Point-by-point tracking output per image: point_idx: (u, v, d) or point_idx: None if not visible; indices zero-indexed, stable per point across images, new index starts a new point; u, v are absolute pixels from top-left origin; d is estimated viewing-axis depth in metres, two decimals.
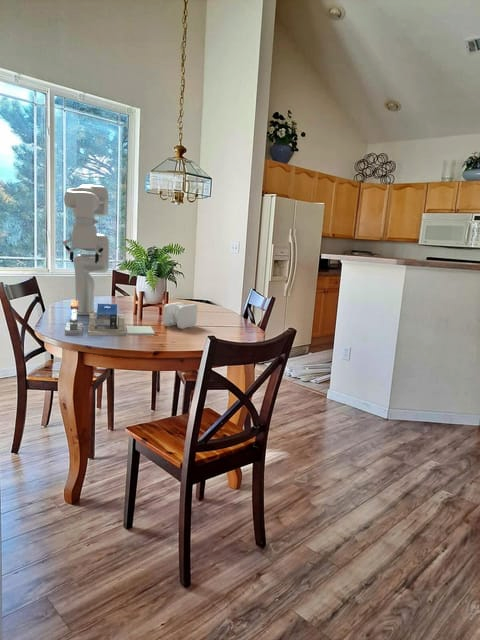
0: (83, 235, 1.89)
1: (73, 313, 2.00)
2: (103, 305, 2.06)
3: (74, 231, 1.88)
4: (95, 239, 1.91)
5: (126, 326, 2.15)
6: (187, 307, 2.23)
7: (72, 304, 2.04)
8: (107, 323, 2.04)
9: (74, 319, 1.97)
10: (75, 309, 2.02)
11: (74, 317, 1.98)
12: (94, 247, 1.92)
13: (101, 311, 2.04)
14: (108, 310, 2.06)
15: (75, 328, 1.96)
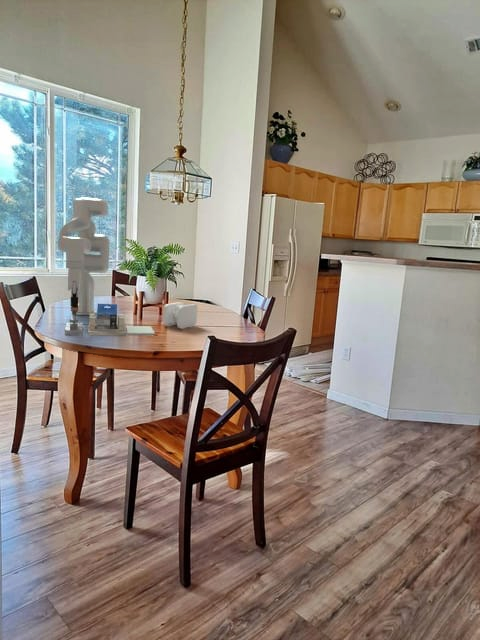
0: (80, 278, 2.03)
1: (73, 314, 2.00)
2: (103, 305, 2.06)
3: (79, 275, 2.00)
4: None
5: (126, 326, 2.15)
6: (187, 307, 2.23)
7: (72, 306, 2.05)
8: (107, 323, 2.04)
9: (74, 319, 1.97)
10: (75, 310, 2.03)
11: (74, 317, 1.98)
12: None
13: (101, 311, 2.04)
14: (108, 310, 2.06)
15: (75, 328, 1.96)
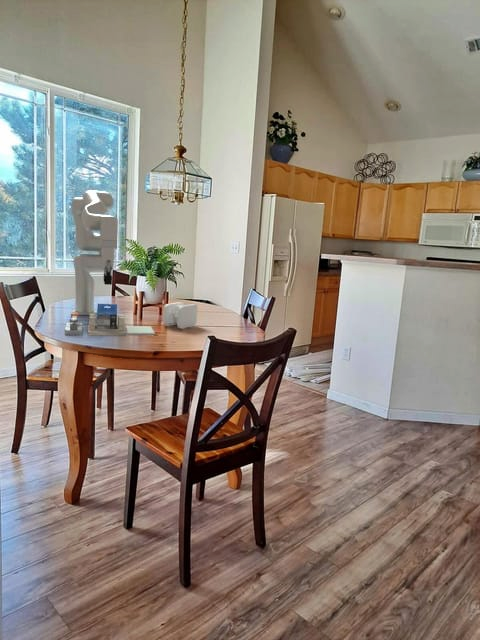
0: None
1: (73, 317, 2.01)
2: (103, 305, 2.06)
3: (113, 254, 1.97)
4: None
5: (126, 326, 2.15)
6: (187, 307, 2.23)
7: (72, 313, 2.06)
8: (107, 323, 2.04)
9: (74, 319, 1.97)
10: (75, 316, 2.04)
11: (74, 318, 1.98)
12: None
13: (101, 311, 2.04)
14: (108, 310, 2.06)
15: (75, 328, 1.96)
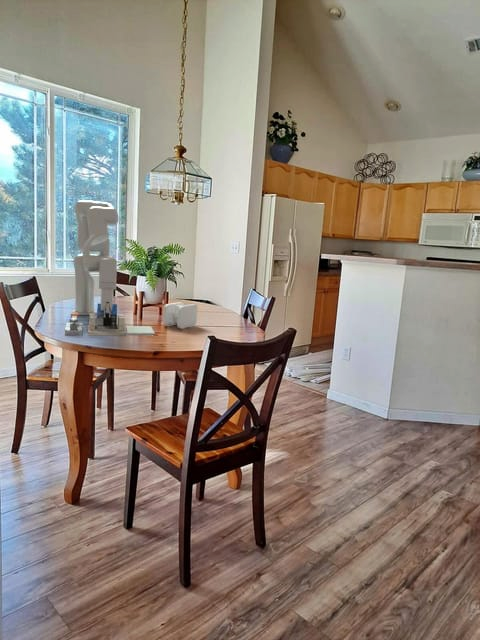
0: None
1: (73, 317, 2.01)
2: None
3: (112, 296, 2.00)
4: None
5: (126, 326, 2.15)
6: (187, 307, 2.23)
7: (72, 313, 2.06)
8: None
9: (74, 319, 1.97)
10: (75, 316, 2.04)
11: (74, 318, 1.98)
12: None
13: (101, 311, 2.04)
14: None
15: (75, 328, 1.96)
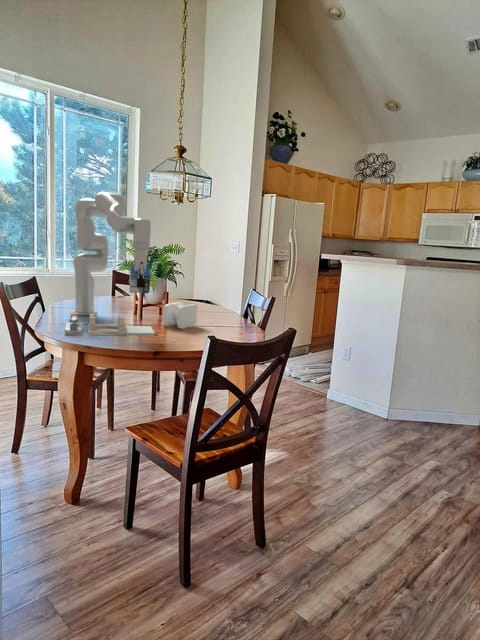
0: None
1: (73, 317, 2.01)
2: None
3: (146, 256, 2.01)
4: None
5: (126, 326, 2.15)
6: (187, 307, 2.23)
7: (72, 313, 2.06)
8: None
9: (74, 319, 1.97)
10: (75, 316, 2.04)
11: (74, 318, 1.98)
12: None
13: (135, 272, 2.05)
14: None
15: (75, 328, 1.96)
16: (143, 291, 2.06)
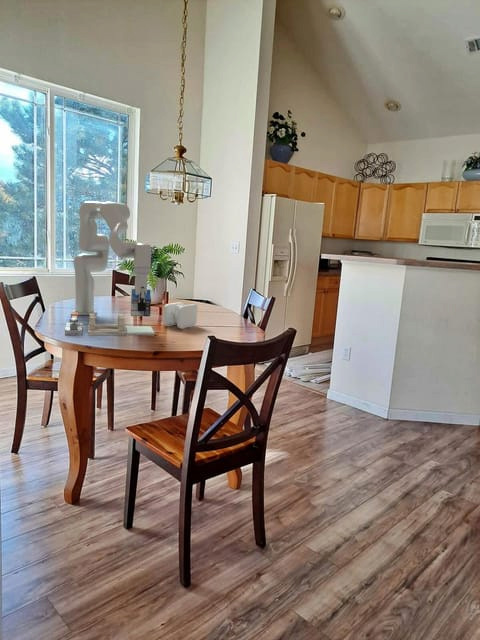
0: None
1: (73, 317, 2.01)
2: None
3: (147, 281, 2.04)
4: None
5: (126, 326, 2.15)
6: (187, 307, 2.23)
7: (72, 313, 2.06)
8: None
9: (74, 319, 1.97)
10: (75, 316, 2.04)
11: (74, 318, 1.98)
12: None
13: (136, 296, 2.08)
14: None
15: (75, 328, 1.96)
16: (144, 315, 2.09)
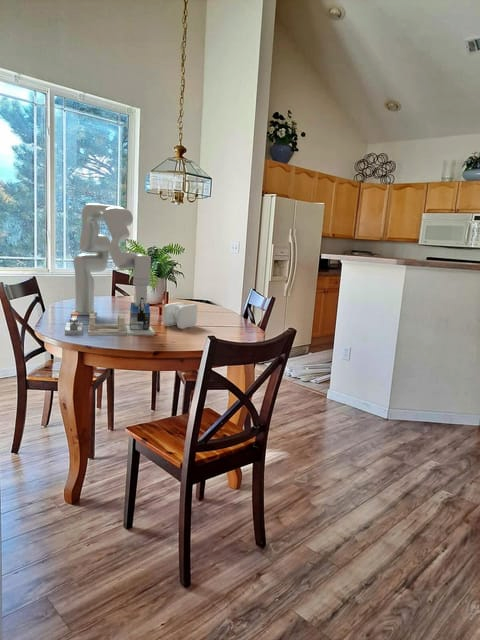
0: None
1: (73, 317, 2.01)
2: None
3: (146, 292, 2.05)
4: None
5: (126, 326, 2.15)
6: (187, 307, 2.23)
7: (72, 313, 2.06)
8: (141, 322, 2.09)
9: (74, 319, 1.97)
10: (75, 316, 2.04)
11: (74, 318, 1.98)
12: None
13: (135, 310, 2.09)
14: None
15: (75, 328, 1.96)
16: (143, 328, 2.10)
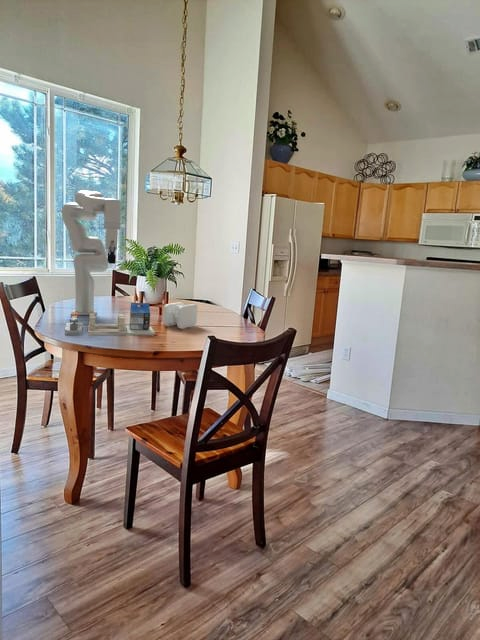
0: None
1: (73, 317, 2.01)
2: (136, 304, 2.10)
3: (117, 235, 2.08)
4: None
5: (126, 326, 2.15)
6: (187, 307, 2.23)
7: (72, 313, 2.06)
8: (141, 322, 2.09)
9: (74, 319, 1.97)
10: (75, 316, 2.04)
11: (74, 318, 1.98)
12: None
13: (135, 310, 2.09)
14: (141, 309, 2.11)
15: (75, 328, 1.96)
16: (143, 328, 2.10)
